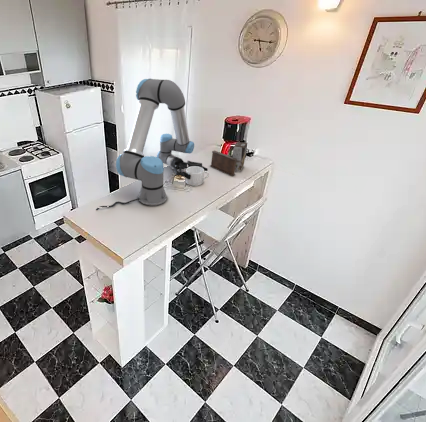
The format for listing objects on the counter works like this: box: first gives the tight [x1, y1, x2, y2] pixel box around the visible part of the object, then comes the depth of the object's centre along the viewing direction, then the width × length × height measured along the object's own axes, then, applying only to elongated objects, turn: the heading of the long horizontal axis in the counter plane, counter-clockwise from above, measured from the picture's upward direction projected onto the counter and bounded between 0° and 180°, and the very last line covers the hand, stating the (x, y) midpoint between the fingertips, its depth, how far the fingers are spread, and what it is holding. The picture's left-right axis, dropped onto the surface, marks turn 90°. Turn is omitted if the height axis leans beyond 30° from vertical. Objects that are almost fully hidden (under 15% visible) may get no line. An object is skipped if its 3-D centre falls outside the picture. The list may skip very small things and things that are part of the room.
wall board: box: [209, 149, 237, 177], centre depth 183 cm, size 18×3×11 cm, turn 32°
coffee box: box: [231, 141, 248, 173], centre depth 183 cm, size 9×6×16 cm
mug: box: [185, 166, 210, 187], centre depth 172 cm, size 13×10×8 cm
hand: (198, 174), depth 170 cm, fingers open, 13 cm apart
